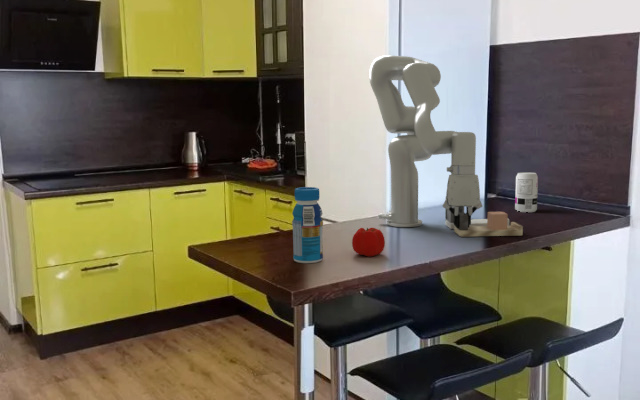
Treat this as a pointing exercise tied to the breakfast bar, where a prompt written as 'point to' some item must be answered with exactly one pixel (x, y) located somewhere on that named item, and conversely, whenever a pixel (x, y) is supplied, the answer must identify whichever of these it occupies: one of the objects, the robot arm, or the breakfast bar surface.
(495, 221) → the terracotta block
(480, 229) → the birch strip
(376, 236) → the tomato
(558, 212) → the breakfast bar surface
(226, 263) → the breakfast bar surface
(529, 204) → the supplement can
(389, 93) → the robot arm
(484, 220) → the light grey piece
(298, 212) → the beverage bottle
